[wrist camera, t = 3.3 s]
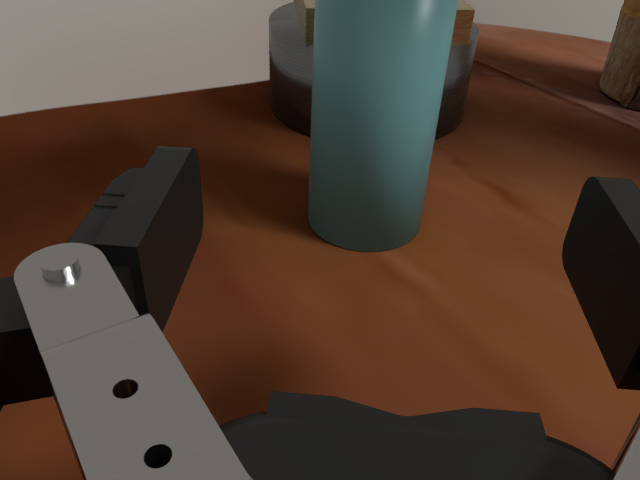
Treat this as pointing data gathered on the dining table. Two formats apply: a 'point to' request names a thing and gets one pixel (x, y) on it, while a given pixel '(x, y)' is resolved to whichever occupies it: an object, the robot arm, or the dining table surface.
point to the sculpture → (624, 59)
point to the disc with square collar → (297, 66)
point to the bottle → (375, 117)
